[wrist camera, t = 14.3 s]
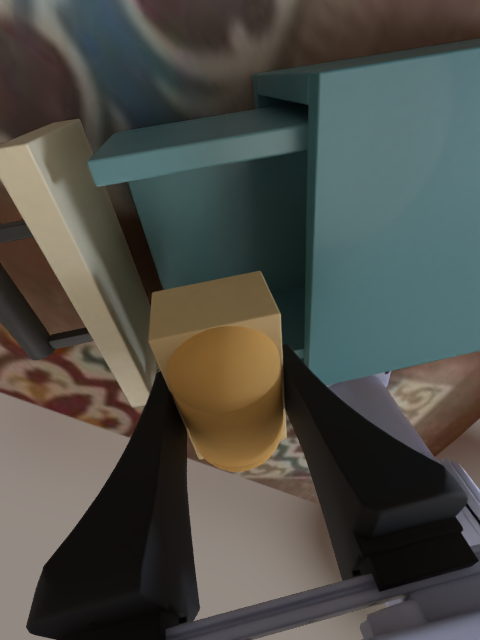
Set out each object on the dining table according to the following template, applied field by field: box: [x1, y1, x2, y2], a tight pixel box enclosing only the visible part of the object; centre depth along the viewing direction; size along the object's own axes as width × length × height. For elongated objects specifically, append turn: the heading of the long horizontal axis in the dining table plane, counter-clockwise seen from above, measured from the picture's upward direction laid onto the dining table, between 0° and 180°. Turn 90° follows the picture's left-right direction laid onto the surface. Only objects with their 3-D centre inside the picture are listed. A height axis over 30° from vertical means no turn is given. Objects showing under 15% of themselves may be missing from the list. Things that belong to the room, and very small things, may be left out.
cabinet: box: [252, 38, 480, 385], centre depth 16 cm, size 16×14×9 cm
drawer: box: [0, 103, 309, 408], centre depth 16 cm, size 19×12×7 cm, turn 97°
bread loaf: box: [148, 271, 287, 472], centre depth 12 cm, size 8×4×4 cm, turn 7°
